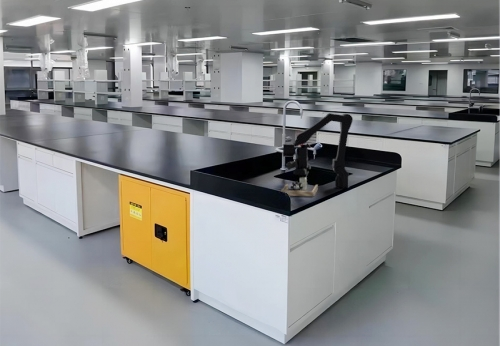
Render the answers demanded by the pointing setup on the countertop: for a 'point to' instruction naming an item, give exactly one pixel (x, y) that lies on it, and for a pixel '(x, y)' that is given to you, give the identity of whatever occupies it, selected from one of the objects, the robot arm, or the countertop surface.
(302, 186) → the valve
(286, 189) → the holding jig
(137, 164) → the countertop surface
